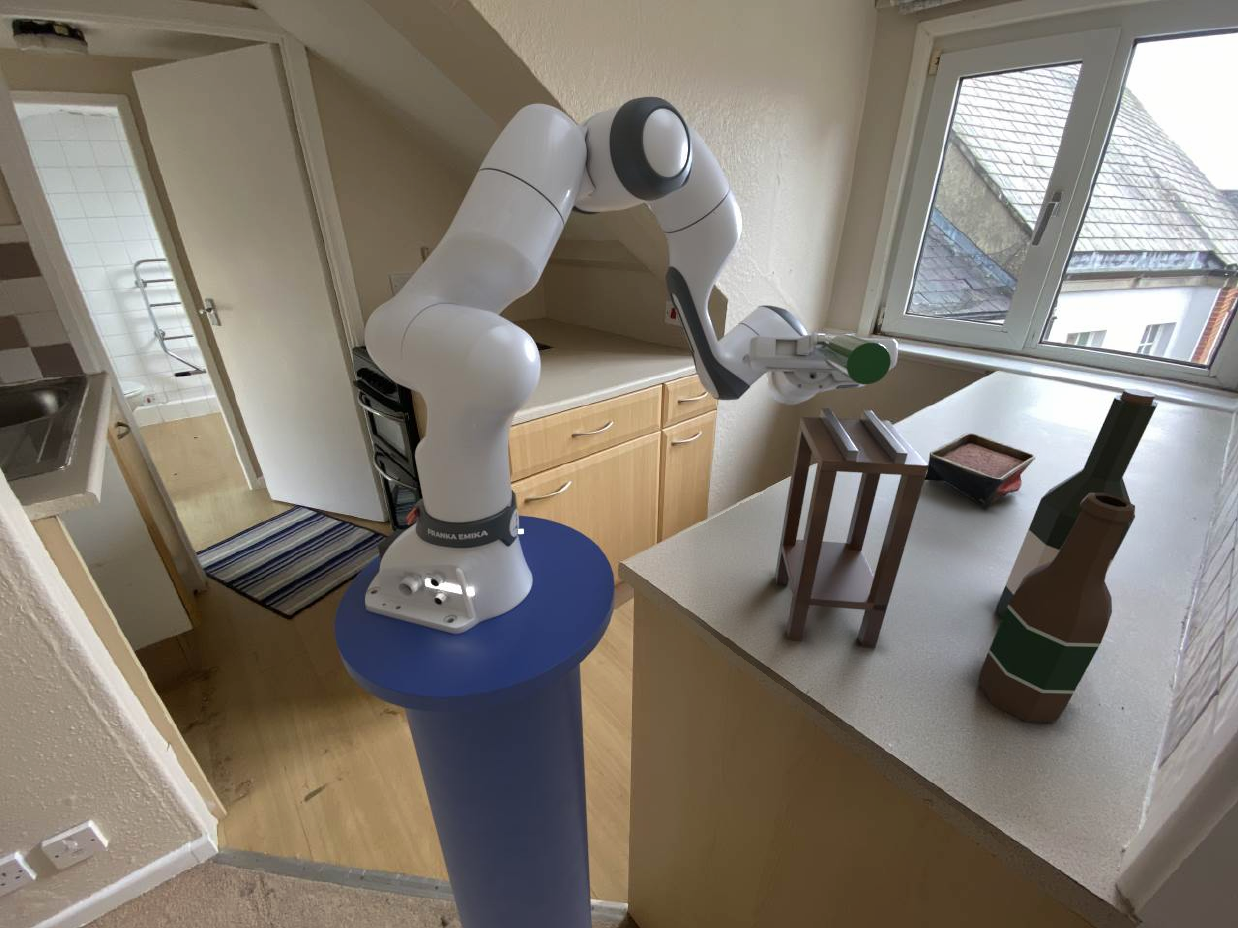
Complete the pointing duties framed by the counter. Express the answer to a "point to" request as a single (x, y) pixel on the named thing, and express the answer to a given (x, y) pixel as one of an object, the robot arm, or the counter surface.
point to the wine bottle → (1084, 487)
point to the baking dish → (979, 467)
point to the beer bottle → (1057, 618)
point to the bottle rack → (842, 567)
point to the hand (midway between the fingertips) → (834, 338)
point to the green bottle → (856, 358)
